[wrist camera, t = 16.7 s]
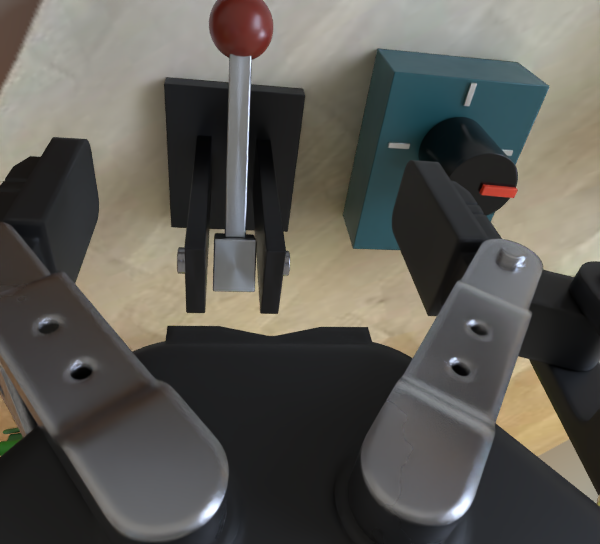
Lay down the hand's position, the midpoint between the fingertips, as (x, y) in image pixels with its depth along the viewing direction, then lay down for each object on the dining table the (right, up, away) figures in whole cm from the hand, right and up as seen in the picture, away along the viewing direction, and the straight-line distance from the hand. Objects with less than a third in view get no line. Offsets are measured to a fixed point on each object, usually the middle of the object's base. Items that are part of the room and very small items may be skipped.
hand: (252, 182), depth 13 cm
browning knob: (+11, +6, +20) cm, 23 cm away
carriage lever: (-2, +5, +15) cm, 16 cm away
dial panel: (+10, +7, +25) cm, 28 cm away
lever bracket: (-4, +6, +24) cm, 25 cm away
